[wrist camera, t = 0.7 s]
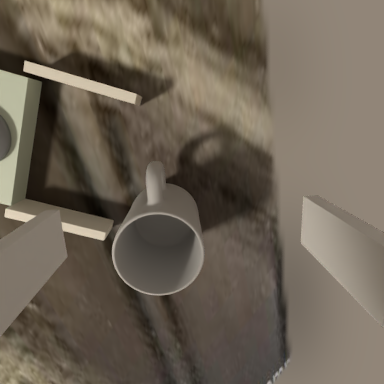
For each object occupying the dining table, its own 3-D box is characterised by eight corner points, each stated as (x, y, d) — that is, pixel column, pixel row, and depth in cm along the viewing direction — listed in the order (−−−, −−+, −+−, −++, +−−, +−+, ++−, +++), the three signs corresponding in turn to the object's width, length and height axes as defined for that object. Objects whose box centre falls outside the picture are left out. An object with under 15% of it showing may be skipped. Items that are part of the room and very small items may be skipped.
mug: (200, 242, 37) (208, 292, 26) (135, 248, 37) (117, 301, 26) (193, 151, 34) (199, 166, 23) (123, 157, 34) (96, 175, 23)
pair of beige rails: (-44, 189, 34) (-73, 198, 30) (-32, 45, 30) (-64, 34, 26) (112, 227, 36) (104, 240, 32) (142, 97, 32) (136, 93, 28)
